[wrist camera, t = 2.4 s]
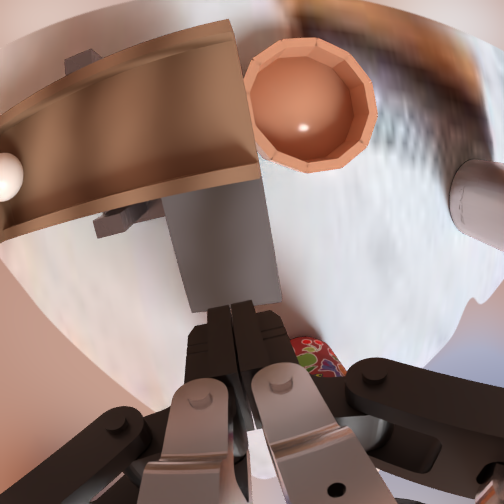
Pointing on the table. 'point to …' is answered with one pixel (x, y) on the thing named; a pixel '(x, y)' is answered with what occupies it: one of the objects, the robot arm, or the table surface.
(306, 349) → the smoothie
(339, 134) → the orange bowl
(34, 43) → the table surface
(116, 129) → the lever
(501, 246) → the robot arm
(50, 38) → the table surface
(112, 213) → the stand
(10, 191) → the ball
